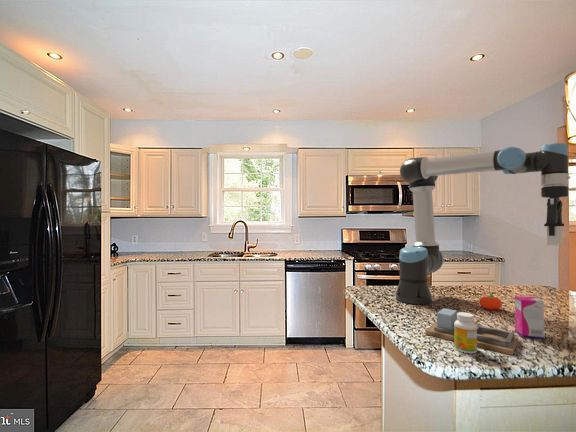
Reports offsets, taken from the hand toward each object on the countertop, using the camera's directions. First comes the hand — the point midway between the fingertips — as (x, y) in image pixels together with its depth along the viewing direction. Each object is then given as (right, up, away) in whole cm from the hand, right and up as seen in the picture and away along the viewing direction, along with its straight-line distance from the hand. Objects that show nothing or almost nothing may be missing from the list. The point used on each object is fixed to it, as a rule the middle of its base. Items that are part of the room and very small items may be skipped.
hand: (554, 244), depth 112 cm
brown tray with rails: (-42, -27, -19) cm, 53 cm away
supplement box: (-22, -27, -17) cm, 39 cm away
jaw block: (-47, -25, -15) cm, 55 cm away
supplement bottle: (-49, -27, -28) cm, 62 cm away
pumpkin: (-16, -27, +11) cm, 34 cm away
